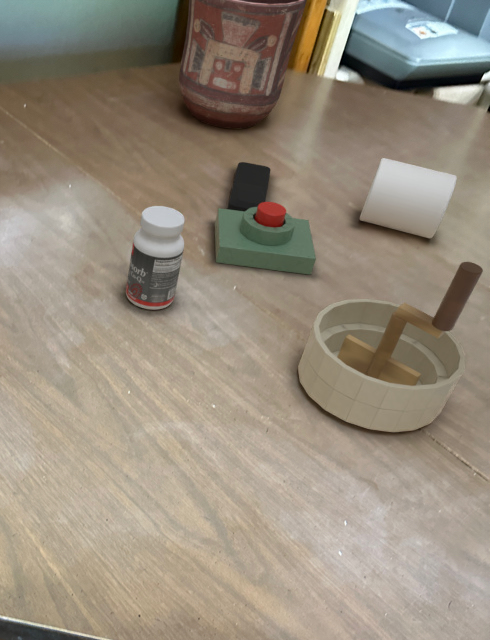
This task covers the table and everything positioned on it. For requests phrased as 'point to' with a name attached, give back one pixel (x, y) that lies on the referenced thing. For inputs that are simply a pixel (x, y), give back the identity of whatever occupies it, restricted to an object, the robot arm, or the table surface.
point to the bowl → (370, 393)
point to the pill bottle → (156, 258)
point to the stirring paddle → (380, 359)
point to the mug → (408, 198)
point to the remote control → (249, 186)
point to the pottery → (237, 58)
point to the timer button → (270, 214)
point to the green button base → (263, 242)
